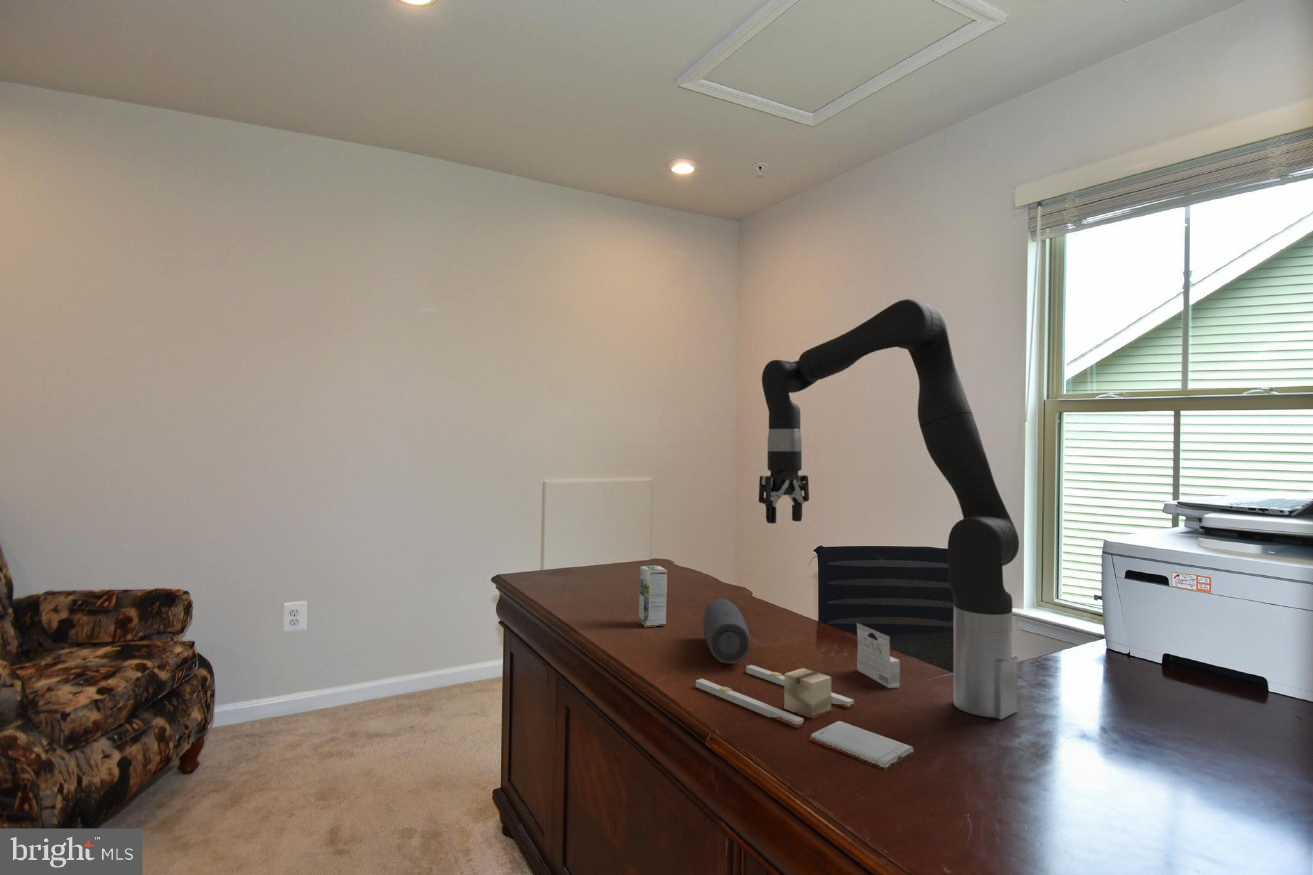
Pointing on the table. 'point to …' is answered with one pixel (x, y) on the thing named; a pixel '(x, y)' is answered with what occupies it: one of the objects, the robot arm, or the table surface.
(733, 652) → the bluetooth speaker
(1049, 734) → the table surface
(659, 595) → the syrup box
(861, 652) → the ink cartridge box
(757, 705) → the slot rails
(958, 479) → the robot arm
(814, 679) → the block
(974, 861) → the table surface
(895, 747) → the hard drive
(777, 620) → the table surface
